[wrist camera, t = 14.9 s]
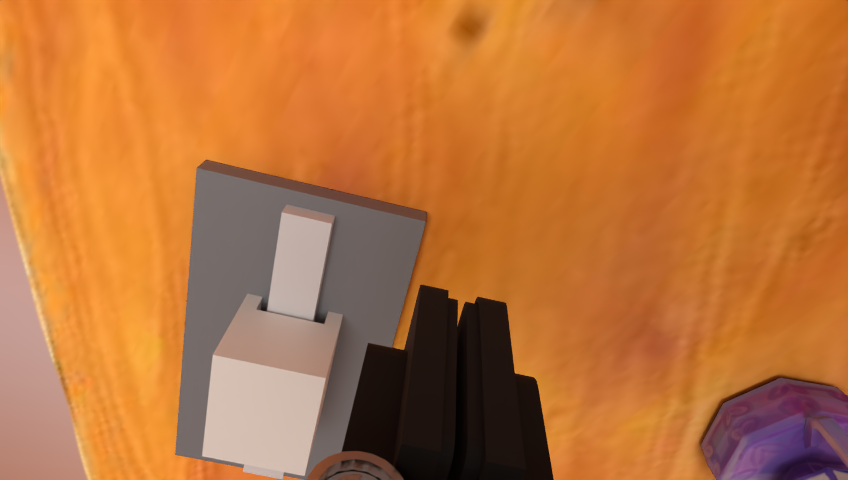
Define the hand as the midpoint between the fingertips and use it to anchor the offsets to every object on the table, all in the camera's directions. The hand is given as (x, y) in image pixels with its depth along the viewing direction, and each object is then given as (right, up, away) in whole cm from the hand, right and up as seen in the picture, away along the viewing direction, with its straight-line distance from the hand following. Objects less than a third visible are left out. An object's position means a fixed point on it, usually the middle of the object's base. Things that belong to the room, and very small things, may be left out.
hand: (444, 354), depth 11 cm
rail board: (-10, -5, +30) cm, 32 cm away
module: (-10, -6, +29) cm, 31 cm away
